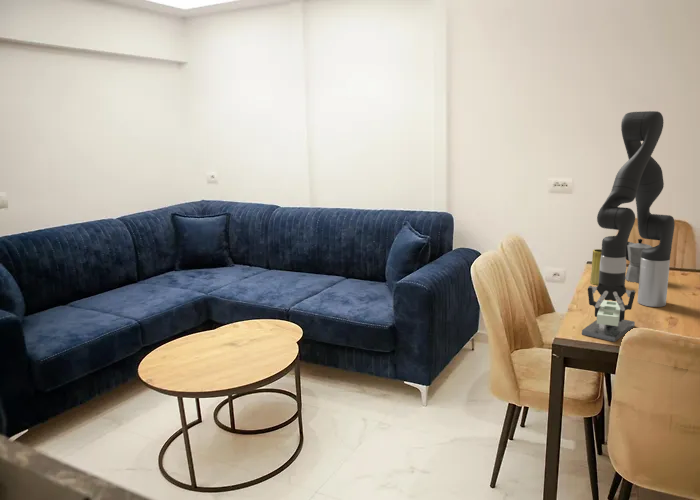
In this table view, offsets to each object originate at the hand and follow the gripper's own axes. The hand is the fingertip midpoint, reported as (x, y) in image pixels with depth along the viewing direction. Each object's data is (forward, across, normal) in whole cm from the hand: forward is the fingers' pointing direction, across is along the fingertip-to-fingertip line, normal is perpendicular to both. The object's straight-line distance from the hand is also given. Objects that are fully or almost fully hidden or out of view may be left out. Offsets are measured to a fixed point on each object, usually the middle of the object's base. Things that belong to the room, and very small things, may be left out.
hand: (609, 319), depth 172 cm
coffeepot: (+4, +5, +68) cm, 68 cm away
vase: (+4, -9, +56) cm, 57 cm away
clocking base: (+4, 0, 0) cm, 4 cm away
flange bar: (-1, 0, 0) cm, 1 cm away
